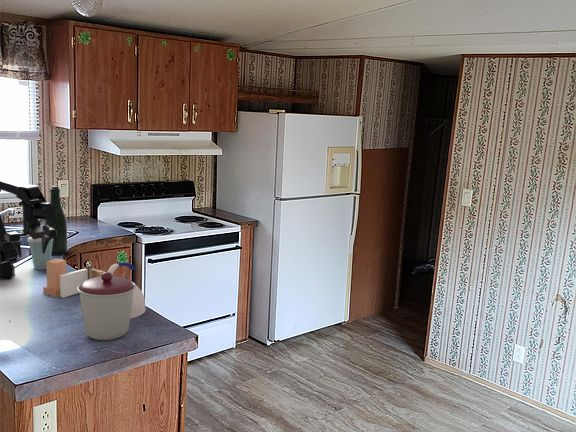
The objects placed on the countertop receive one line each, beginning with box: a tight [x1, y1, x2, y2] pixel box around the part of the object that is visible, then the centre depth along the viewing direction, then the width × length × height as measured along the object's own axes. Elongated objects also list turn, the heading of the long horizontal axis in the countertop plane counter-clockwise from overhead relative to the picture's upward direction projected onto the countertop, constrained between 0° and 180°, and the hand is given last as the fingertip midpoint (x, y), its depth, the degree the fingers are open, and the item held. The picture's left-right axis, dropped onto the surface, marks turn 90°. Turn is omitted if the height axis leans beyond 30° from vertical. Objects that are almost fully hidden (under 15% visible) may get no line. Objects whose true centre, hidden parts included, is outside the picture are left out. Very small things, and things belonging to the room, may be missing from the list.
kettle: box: [107, 261, 147, 320], centre depth 209 cm, size 20×21×18 cm
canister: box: [77, 271, 137, 341], centre depth 187 cm, size 18×18×21 cm
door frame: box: [85, 264, 105, 279], centre depth 232 cm, size 22×2×10 cm, turn 61°
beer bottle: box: [44, 185, 69, 256], centre depth 279 cm, size 10×10×33 cm
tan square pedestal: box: [42, 258, 67, 298], centre depth 224 cm, size 7×7×13 cm
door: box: [60, 268, 88, 298], centre depth 224 cm, size 12×3×9 cm, turn 151°
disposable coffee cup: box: [27, 237, 54, 270], centre depth 256 cm, size 11×11×15 cm
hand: (32, 255), depth 233 cm, fingers open, 9 cm apart
